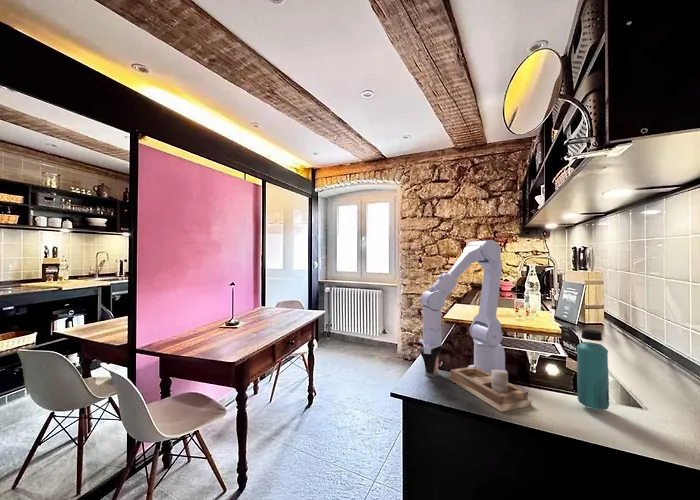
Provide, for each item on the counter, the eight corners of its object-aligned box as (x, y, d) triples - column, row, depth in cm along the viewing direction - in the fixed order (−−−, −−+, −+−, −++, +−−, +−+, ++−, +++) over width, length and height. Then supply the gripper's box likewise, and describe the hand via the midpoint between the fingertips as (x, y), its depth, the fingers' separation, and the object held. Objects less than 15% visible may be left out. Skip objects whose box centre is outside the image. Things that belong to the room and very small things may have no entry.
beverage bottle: (612, 419, 73) (611, 335, 73) (577, 411, 76) (577, 331, 77) (607, 407, 78) (606, 329, 79) (575, 401, 82) (574, 326, 82)
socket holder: (474, 375, 99) (474, 353, 99) (531, 405, 79) (531, 377, 80) (448, 379, 96) (448, 356, 96) (501, 411, 76) (501, 382, 76)
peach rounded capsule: (433, 372, 102) (433, 351, 102) (440, 376, 98) (440, 354, 98) (422, 373, 100) (422, 352, 101) (429, 378, 97) (429, 356, 97)
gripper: (424, 322, 108) (424, 361, 108) (414, 331, 95) (413, 375, 94) (445, 324, 105) (444, 364, 104) (437, 334, 92) (437, 379, 91)
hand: (431, 370), depth 99 cm, fingers open, 5 cm apart
